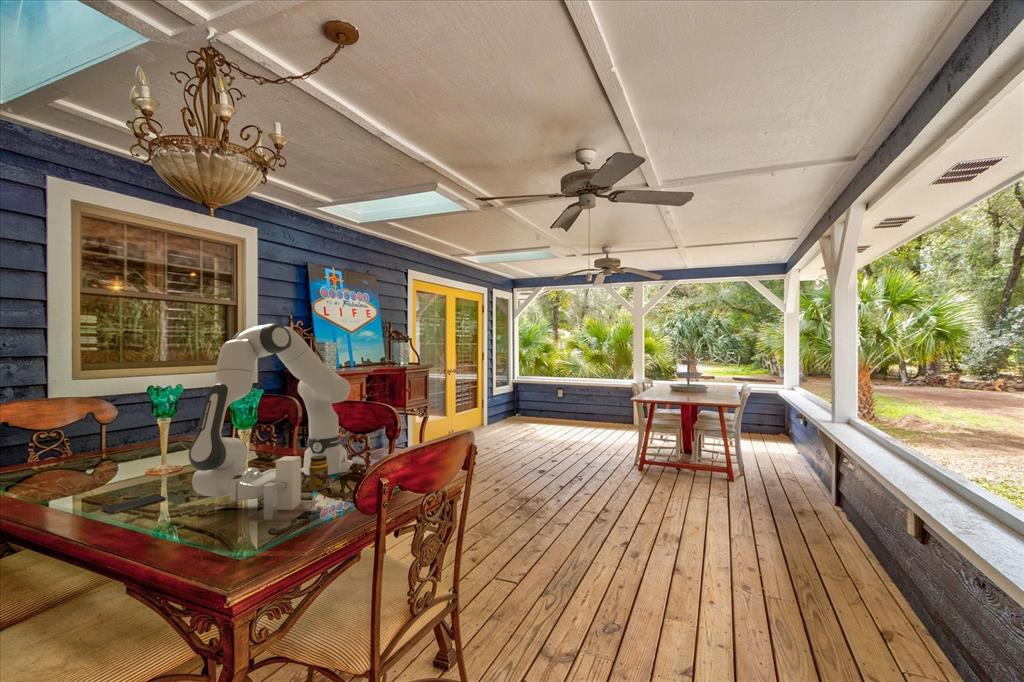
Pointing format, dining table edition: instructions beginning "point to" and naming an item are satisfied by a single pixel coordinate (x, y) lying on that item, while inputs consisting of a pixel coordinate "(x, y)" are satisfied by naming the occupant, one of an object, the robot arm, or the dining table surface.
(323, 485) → the condiment
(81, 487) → the dining table surface
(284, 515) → the board
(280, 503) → the tall gray pillar
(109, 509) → the phone
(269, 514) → the post
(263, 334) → the robot arm
